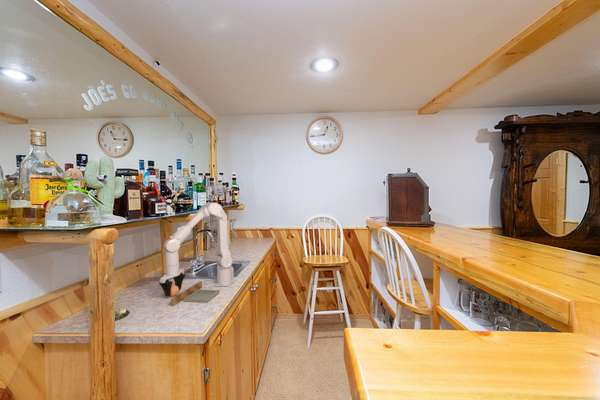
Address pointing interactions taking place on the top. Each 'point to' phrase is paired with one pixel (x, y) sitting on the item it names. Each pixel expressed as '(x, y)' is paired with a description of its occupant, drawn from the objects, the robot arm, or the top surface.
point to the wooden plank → (185, 293)
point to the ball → (174, 290)
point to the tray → (202, 296)
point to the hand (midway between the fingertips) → (173, 292)
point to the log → (120, 313)
